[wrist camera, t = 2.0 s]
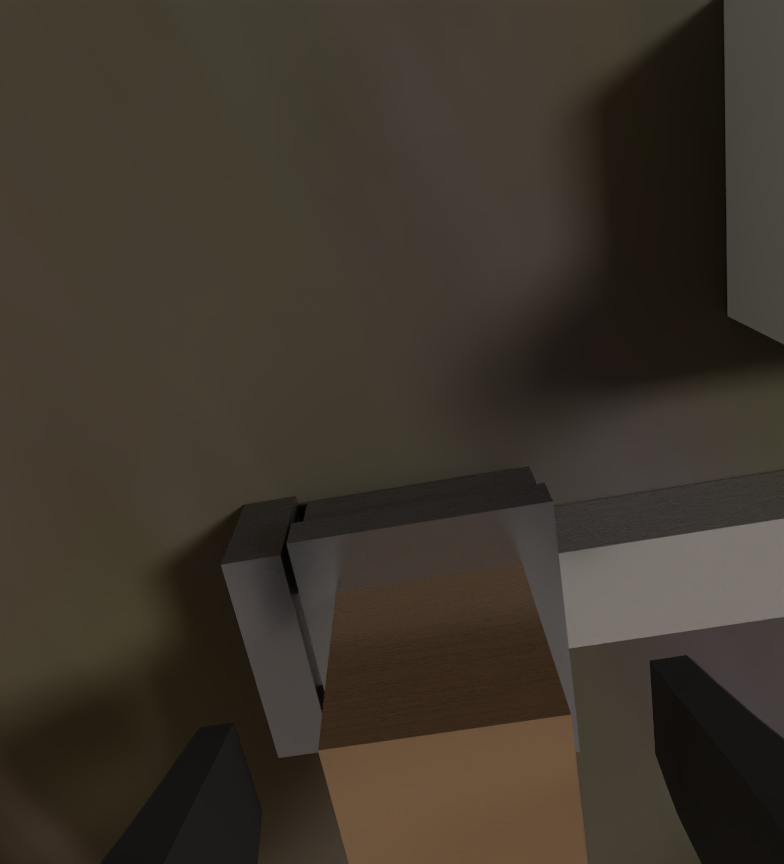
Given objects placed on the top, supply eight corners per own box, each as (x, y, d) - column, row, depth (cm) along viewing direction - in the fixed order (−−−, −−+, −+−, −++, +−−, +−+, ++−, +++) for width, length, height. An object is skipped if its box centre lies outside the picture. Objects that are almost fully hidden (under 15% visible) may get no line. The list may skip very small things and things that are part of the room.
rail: (1056, 372, 16) (1176, 413, 14) (1026, 570, 18) (1126, 637, 15) (244, 504, 17) (220, 564, 15) (292, 678, 19) (278, 758, 16)
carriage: (526, 443, 16) (615, 636, 10) (552, 664, 18) (640, 940, 12) (301, 480, 16) (250, 690, 10) (354, 694, 19) (337, 977, 12)
